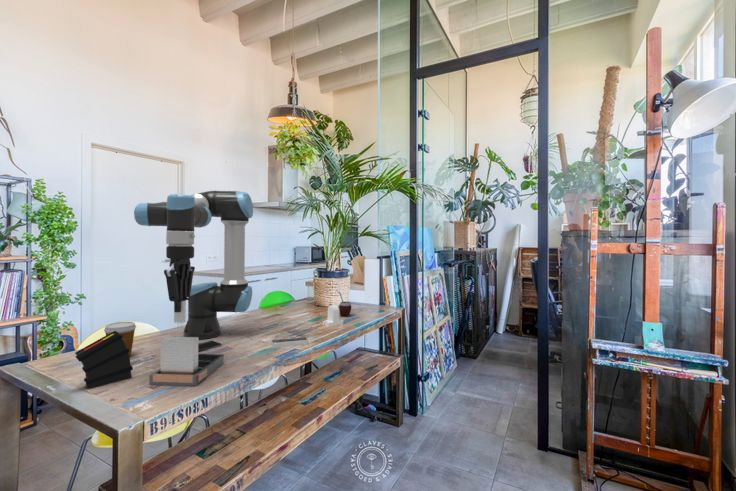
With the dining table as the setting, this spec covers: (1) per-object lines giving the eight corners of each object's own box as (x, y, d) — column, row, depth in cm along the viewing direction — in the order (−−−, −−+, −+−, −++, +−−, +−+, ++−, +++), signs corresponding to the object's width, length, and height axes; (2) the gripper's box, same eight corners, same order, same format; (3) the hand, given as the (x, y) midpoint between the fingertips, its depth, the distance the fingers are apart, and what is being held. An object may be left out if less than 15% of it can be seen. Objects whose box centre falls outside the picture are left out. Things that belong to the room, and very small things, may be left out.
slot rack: (149, 384, 103) (149, 374, 103) (184, 361, 122) (184, 353, 122) (197, 386, 102) (197, 376, 102) (224, 363, 121) (224, 354, 121)
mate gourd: (353, 316, 196) (353, 290, 196) (340, 318, 192) (341, 291, 192) (347, 314, 202) (347, 288, 202) (335, 315, 199) (335, 289, 198)
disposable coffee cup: (141, 356, 126) (141, 323, 126) (111, 364, 118) (111, 329, 118) (128, 351, 131) (128, 320, 131) (98, 358, 123) (98, 325, 123)
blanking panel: (160, 378, 105) (160, 339, 104) (166, 374, 108) (166, 336, 107) (192, 379, 104) (193, 340, 104) (198, 375, 107) (198, 337, 107)
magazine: (143, 369, 110) (119, 331, 104) (97, 400, 101) (68, 360, 95) (139, 366, 112) (116, 329, 107) (94, 396, 103) (65, 357, 98)
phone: (175, 349, 132) (211, 340, 145) (175, 352, 132) (211, 342, 145) (186, 353, 128) (222, 343, 140) (186, 356, 128) (222, 346, 140)
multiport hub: (307, 345, 144) (307, 339, 144) (272, 348, 139) (272, 343, 139) (305, 342, 149) (305, 336, 149) (271, 345, 143) (271, 340, 143)
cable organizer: (322, 324, 177) (322, 305, 177) (338, 322, 184) (338, 303, 183) (327, 326, 173) (328, 307, 173) (343, 324, 179) (344, 305, 179)
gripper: (180, 246, 98) (179, 327, 99) (203, 245, 111) (202, 317, 112) (154, 245, 99) (154, 327, 99) (180, 244, 112) (179, 316, 112)
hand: (179, 321), depth 106 cm, fingers closed
